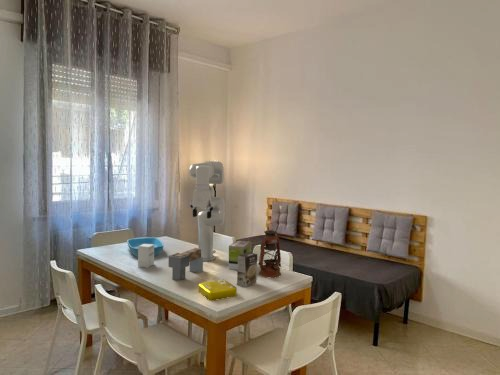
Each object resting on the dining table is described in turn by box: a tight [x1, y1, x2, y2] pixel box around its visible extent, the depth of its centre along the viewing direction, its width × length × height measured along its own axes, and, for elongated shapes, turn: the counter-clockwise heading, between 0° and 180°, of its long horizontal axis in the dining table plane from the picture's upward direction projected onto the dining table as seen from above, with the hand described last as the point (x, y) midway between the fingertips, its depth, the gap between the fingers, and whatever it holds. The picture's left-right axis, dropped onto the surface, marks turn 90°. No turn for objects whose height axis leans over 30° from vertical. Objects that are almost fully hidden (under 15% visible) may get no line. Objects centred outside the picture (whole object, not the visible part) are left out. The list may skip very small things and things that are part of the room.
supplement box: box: [137, 244, 155, 268], centre depth 224 cm, size 7×7×13 cm
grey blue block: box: [189, 257, 204, 274], centre depth 216 cm, size 5×6×8 cm
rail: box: [175, 247, 201, 263], centre depth 209 cm, size 20×4×5 cm, turn 154°
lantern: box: [257, 222, 282, 279], centre depth 213 cm, size 17×13×30 cm
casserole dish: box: [126, 236, 165, 258], centre depth 256 cm, size 37×22×7 cm, turn 25°
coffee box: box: [236, 252, 258, 288], centre depth 196 cm, size 9×6×16 cm
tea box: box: [228, 240, 252, 271], centre depth 227 cm, size 15×10×15 cm
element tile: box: [198, 279, 238, 301], centre depth 182 cm, size 15×15×5 cm
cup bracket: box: [168, 252, 190, 281], centre depth 201 cm, size 8×8×13 cm
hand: (201, 217), depth 211 cm, fingers open, 9 cm apart
